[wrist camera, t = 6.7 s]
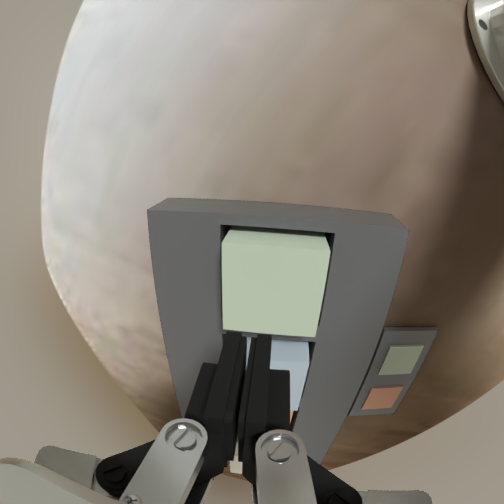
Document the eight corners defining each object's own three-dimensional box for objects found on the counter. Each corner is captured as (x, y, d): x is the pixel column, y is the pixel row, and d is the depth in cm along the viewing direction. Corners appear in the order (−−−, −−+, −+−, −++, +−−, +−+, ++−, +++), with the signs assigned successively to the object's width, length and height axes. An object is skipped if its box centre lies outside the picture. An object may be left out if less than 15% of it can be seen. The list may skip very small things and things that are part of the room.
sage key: (323, 232, 15) (330, 251, 13) (312, 309, 17) (315, 337, 15) (232, 225, 16) (221, 242, 13) (231, 302, 18) (223, 329, 15)
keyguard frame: (391, 214, 16) (409, 229, 13) (316, 449, 27) (316, 470, 24) (168, 197, 17) (146, 209, 15) (199, 438, 28) (193, 457, 25)
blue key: (307, 334, 18) (309, 363, 15) (297, 383, 20) (297, 410, 17) (231, 327, 18) (223, 355, 16) (232, 377, 20) (226, 403, 18)
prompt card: (435, 326, 19) (438, 331, 18) (392, 409, 23) (394, 414, 22) (383, 326, 19) (385, 332, 18) (347, 412, 23) (348, 417, 23)
